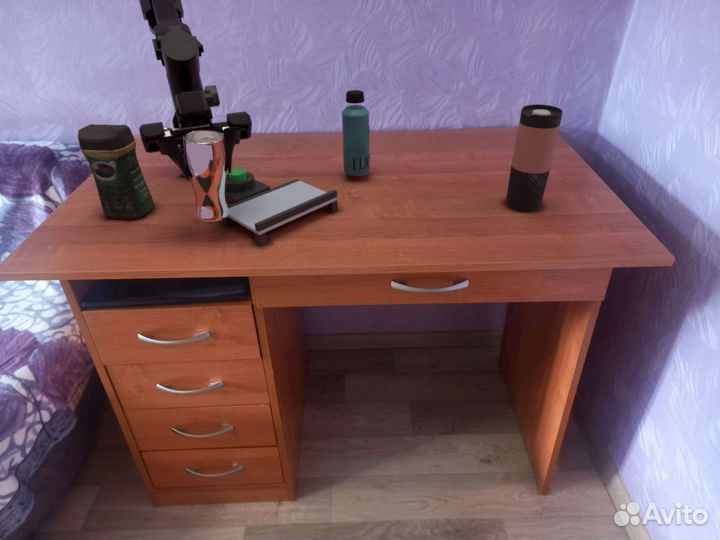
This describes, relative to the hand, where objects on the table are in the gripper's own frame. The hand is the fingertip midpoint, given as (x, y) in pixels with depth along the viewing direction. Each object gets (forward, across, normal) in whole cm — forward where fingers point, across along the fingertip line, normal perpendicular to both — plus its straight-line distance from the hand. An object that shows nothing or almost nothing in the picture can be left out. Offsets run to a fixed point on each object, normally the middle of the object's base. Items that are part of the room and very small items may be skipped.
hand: (209, 176), depth 83 cm
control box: (-4, +7, +23) cm, 25 cm away
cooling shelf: (+6, +13, +13) cm, 19 cm away
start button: (-7, +7, +21) cm, 23 cm away
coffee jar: (-5, -16, +24) cm, 29 cm away
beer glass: (+5, -1, +7) cm, 9 cm away
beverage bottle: (-2, +35, +22) cm, 41 cm away
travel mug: (+17, +62, +1) cm, 64 cm away
